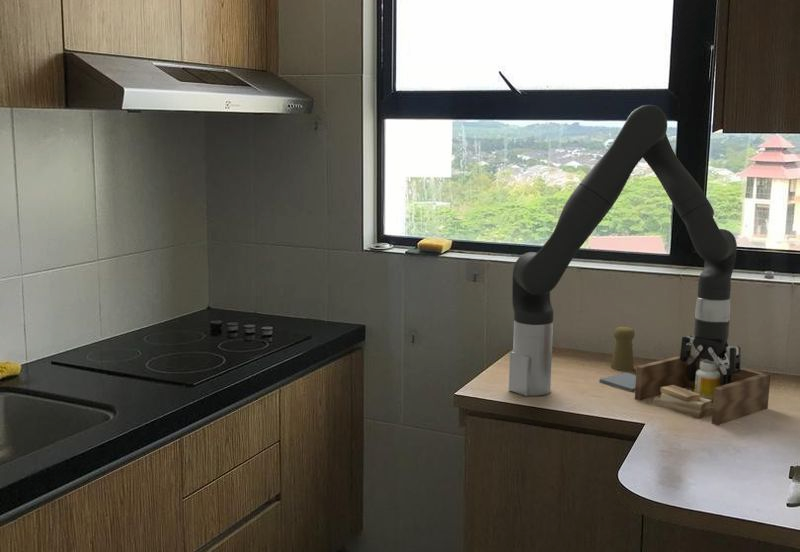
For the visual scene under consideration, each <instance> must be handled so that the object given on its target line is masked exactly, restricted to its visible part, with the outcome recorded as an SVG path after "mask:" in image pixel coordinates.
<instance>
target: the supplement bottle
mask: <svg viewBox="0 0 800 552" xmlns="http://www.w3.org/2000/svg"><path fill="white" fill-rule="evenodd" d="M700 368H701V369H699V370H697V372H696V378H695V390H694V391H693V392H695V393H698V394H700V397H701V398H705V399H709V400H712V401H711V406H713V398H714V388H716V387H719V386H720V373H719V372H718V371H716V370H717V369H718V366H717V365H716V363H715V361H714V362H712V361H709V360H702V361H700Z"/></svg>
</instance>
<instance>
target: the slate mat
mask: <svg viewBox="0 0 800 552" xmlns="http://www.w3.org/2000/svg"><path fill="white" fill-rule="evenodd" d="M599 383H601V384H605V385H608V386H612V387H615V388H617V389H621V390H624V391H628V392H630V393H633V392H634V393H635V385H636V374H632V373H628V372H627V371H624V372H622V373H619V374H618V373H617V374H614V375H610V376H606V377H602V378H599Z"/></svg>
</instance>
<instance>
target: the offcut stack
mask: <svg viewBox="0 0 800 552" xmlns="http://www.w3.org/2000/svg"><path fill="white" fill-rule="evenodd" d="M660 392H661V393H662V394H661V395H659V396H656V397H653V405H654V406H658V407H660V408H664V409H666V410H670V411H673V412H676V413H680V414H682V415H686V416H689V417H692V418H695V419H702V418H705V417H708V416H712V411H713V407H712V405H711V401H712V400H709V399H705V398H701V397H700V394H698V393H695V392H694V391H692V390H688V389H687V388H681V387H678V386H675V385H670V386H665V387H661V389H660Z"/></svg>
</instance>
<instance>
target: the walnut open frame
mask: <svg viewBox="0 0 800 552" xmlns="http://www.w3.org/2000/svg"><path fill="white" fill-rule="evenodd" d="M690 357H691V356H690ZM702 360H707V359H699V361H698V362H697V363H696V364H695V365H697V370H699V369H701V368H700V361H702ZM635 371H636V372H635V375H636V385H635V391H634V400H636V401H639V402H641V401H644V400H648V399H652V398H656V397H660V396H661V394H662V393H661V392H660V389H661V387H665V386H670V385H675V386H678V387H681V388H684V389H691V390H694V391H695V381H689V380H688V378H687V364H686V363H685V362H684V361H681V360H680V355H677V356H673V357H669V358H665V359H660V360H657V361H653V362H649V363H645V364H641V365H637V366H636V368H635ZM716 371H718V372H719V373H720V386H719V387H716V388H714V398H713V405H712V408H713V411H712V415H711V416H712V417H711V424H713V425H715V426H720V424H721V425H723V424H726V423H729V422H731V421H736V420H738V419H740V418H743V417H748V416H749V415H753V414H756V413H759V412H761V411H765V410H767V409H768V407H769V399H770V398H769V396H770V387H771V386H770V385H771V384H770V383H771V374H770V373H766V372H762V371H757V370H755V369H754V370H753V369H749V368H745V367H741V366H740V372H737V373H734V374H731V383H729V384H726V385H722V386H721V374H723V373H722V371H721V369H720V368H719V366H718V369H717V370H716Z"/></svg>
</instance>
